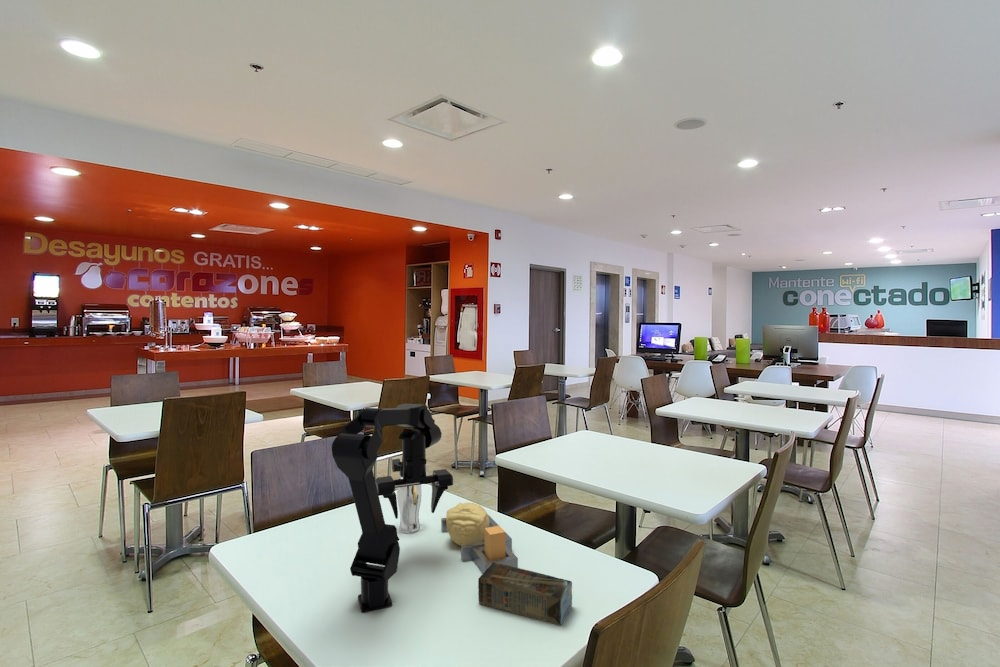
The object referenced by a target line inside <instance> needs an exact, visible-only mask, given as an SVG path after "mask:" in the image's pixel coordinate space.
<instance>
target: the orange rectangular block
mask: <svg viewBox="0 0 1000 667" xmlns="http://www.w3.org/2000/svg"><path fill="white" fill-rule="evenodd" d="M484 529H485V540H484V541H485V557H486V558H487V559H488V560H489V561H490V560H495V559H500V558H505V557H506V549H505V532H506V531H505V530H504V528H502V527H501V526H500V525H499V526H495V527H489V528H484Z"/></svg>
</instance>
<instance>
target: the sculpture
mask: <svg viewBox="0 0 1000 667" xmlns="http://www.w3.org/2000/svg"><path fill="white" fill-rule="evenodd" d="M488 515H489V514H488V512H487V511H486V509H485V508H484V506H481V505H480V504H478V503H475V502H464V503H463V502H459V503H458V504H456V505H455V506H453V507H451V508H449V509H447V511H446V517H445V518H446V524H447V531H448V532H447V533H448V534H449V537H450V539H451V540H452V541H453V543H455V544H456V545H458V546H460V547H461V545H466V544H472V543H477V542H482V541H485V529H484V528H489V526H490V522H489V517H488Z"/></svg>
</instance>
